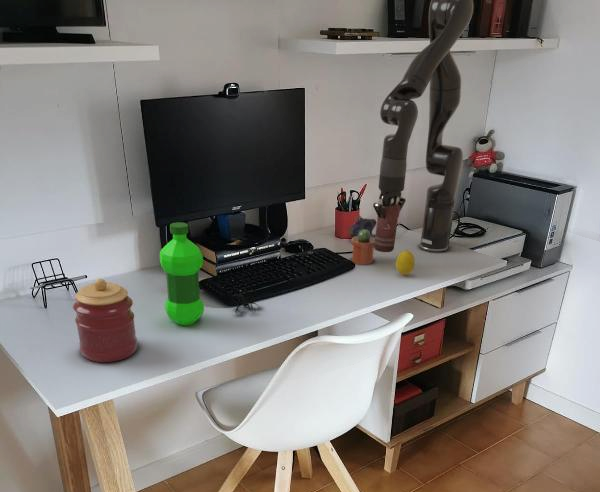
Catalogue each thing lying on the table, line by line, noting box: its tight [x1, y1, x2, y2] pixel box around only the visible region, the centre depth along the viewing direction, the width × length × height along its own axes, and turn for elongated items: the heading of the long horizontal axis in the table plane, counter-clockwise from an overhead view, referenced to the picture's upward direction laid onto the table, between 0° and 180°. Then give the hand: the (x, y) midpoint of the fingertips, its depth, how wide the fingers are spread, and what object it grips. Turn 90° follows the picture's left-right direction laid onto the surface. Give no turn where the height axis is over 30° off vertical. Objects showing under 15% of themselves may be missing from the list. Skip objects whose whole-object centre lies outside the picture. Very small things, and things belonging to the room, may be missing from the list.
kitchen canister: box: [72, 278, 138, 363], centre depth 149 cm, size 13×13×18 cm
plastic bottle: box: [158, 221, 205, 326], centre depth 162 cm, size 10×10×25 cm
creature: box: [227, 287, 260, 317], centre depth 174 cm, size 8×5×8 cm
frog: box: [348, 217, 377, 238], centre depth 229 cm, size 10×12×8 cm
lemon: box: [395, 249, 415, 276], centre depth 199 cm, size 6×6×8 cm
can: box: [374, 205, 401, 253], centre depth 199 cm, size 6×6×14 cm
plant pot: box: [351, 229, 375, 265], centre depth 209 cm, size 8×8×10 cm
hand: (386, 231), depth 200 cm, fingers closed
